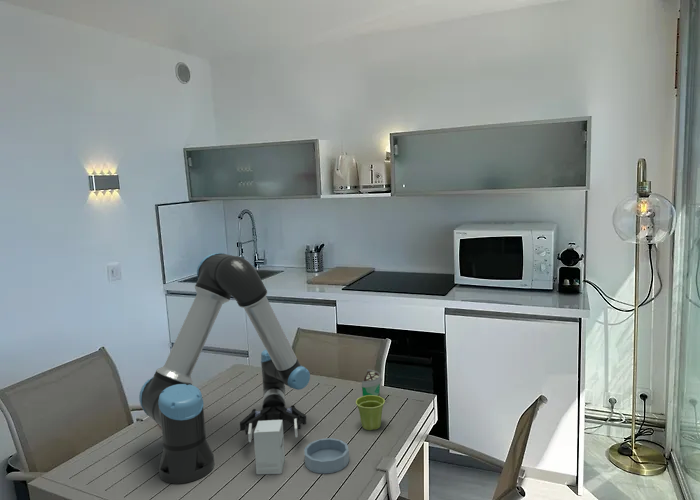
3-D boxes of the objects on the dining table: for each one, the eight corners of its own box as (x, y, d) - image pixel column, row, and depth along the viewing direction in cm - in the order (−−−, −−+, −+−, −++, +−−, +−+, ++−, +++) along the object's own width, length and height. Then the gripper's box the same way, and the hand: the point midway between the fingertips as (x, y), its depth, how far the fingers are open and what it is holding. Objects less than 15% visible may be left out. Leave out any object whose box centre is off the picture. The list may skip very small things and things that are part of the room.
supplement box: (282, 474, 143) (279, 431, 141) (255, 475, 143) (252, 432, 141) (285, 459, 150) (283, 419, 148) (260, 460, 150) (257, 419, 148)
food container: (379, 409, 179) (378, 382, 178) (362, 408, 181) (361, 381, 179) (384, 394, 191) (383, 369, 190) (368, 394, 193) (367, 368, 191)
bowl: (305, 476, 141) (304, 463, 141) (304, 451, 154) (303, 440, 153) (351, 470, 143) (351, 458, 142) (346, 447, 155) (345, 436, 155)
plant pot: (376, 435, 161) (375, 409, 160) (351, 429, 166) (350, 403, 165) (390, 423, 169) (389, 398, 168) (366, 417, 174) (365, 393, 173)
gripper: (311, 411, 174) (316, 442, 153) (236, 418, 170) (230, 452, 150) (310, 390, 173) (314, 418, 152) (235, 397, 169) (228, 427, 149)
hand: (273, 435), depth 151 cm, fingers open, 13 cm apart
